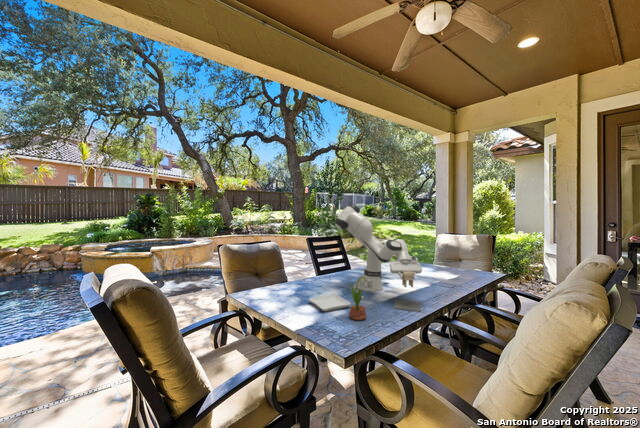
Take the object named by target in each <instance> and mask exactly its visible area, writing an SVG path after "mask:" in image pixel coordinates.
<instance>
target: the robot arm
mask: <svg viewBox="0 0 640 428" xmlns="http://www.w3.org/2000/svg"><path fill="white" fill-rule="evenodd" d="M360 212H361V210H360V208H359V206H358V205H356V204H355V203H352V202H351V203H349V204H347V206H346V207H345V208H344V209H342V211H341V212H340V213H339V215H338V216H337V217H336V218H335V219H334V225H335V226H336V228H337V229H339V230H340V231H344V230H347V231H348V233H350V234H351V235H352V236H353V237H354V238H355V239H356V240H357V241H358V242H359V243H361V245H363V246H364V248H366V249H367V257H366V268H365V269H364V270H363V275H362V276H361V275H360V277H365V278H366V281H365V279H364V278H363V279H360V280H361V281H362V280H363V284H362V285H361V284H360V285H358V287H357V289H359V287H360V286H361V291H366V292H372V293H373V292H378V291H382V290H383V289H384V288H383V284H382V277H383V276H382V275H383V274H382V272H383V271H382V263H388V265H389V268H390V269H389V270H390V273H391V274H397V276H399V277H400V280H402V279H403V278H404V277H403V275H402V273H401V272H402V271H412V272H413V273H414V276H413V280H415V279H416V274H417V275H418V274H421V273H422V272H423V268H422V265H421V263H420V262H419V259H418V257H416V256H412V255H410V254H409V248H408V245H407V243H406V241H405V240H404V239H401V238H398V239H395V240H393V239H389V240H387V241H385V243H384V244H383V242H382V241H380V240H379V239H377V237H375V236H374V234H373V230H374V229H373V224H372V222H371V220H370V219H368V218H366V217H365V216H363V215H362V214H361V213H360ZM394 256H395V257H396V260H392V258H393V257H394ZM368 279H369V280H370V282H368V281H367V280H368ZM360 280H359V283H360V282H361V281H360ZM357 281H358V279H357ZM357 281H356V282H357ZM364 283H366V284H367V285H366V286H363V285H364ZM356 285H357V283H355V284H354V285H353V288H354V290H356Z"/></svg>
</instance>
